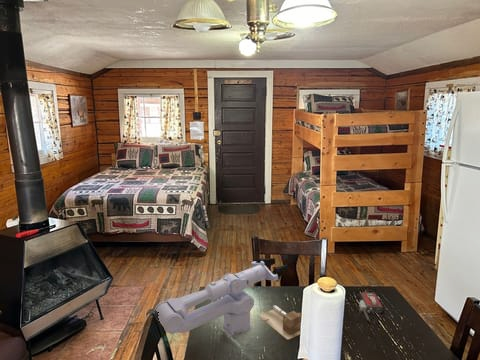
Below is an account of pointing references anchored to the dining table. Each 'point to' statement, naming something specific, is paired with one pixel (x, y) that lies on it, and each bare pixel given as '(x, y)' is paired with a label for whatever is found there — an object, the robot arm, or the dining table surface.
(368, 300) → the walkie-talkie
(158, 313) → the robot arm
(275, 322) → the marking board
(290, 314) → the brown knobbed block
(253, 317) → the dining table surface
